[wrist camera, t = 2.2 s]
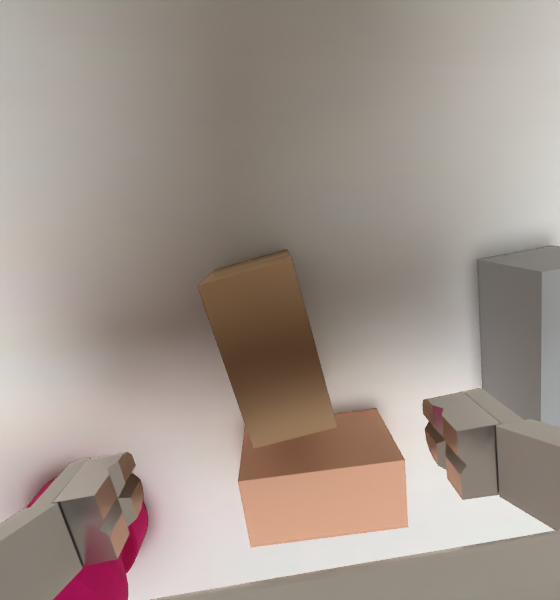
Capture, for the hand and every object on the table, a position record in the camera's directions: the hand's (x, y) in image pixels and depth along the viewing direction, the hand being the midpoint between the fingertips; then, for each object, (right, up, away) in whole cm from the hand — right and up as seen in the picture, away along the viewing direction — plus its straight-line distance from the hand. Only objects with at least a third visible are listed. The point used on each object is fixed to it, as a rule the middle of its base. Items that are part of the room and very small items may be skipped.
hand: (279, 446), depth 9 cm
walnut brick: (0, +3, +7) cm, 8 cm away
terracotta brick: (+2, -4, +9) cm, 10 cm away
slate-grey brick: (+12, +3, +8) cm, 14 cm away
